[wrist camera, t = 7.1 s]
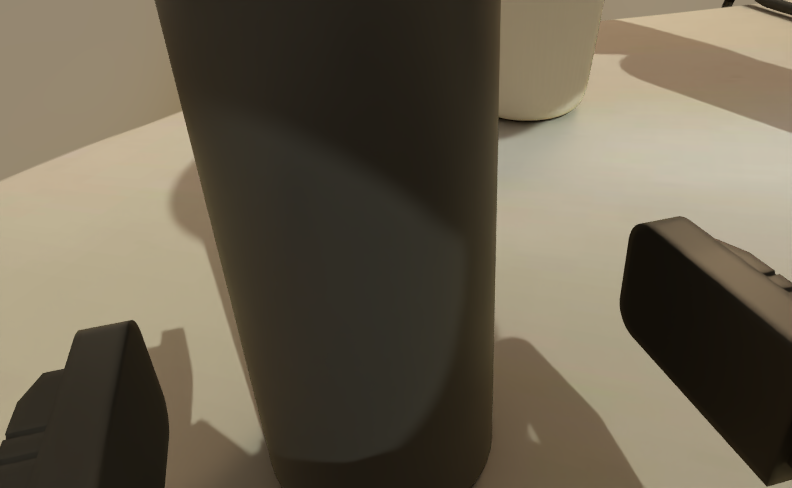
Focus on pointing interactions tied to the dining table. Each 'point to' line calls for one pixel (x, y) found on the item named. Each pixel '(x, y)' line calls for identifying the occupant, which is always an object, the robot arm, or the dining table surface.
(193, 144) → the cutlery holder
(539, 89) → the cup
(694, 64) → the dining table surface
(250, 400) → the dining table surface
